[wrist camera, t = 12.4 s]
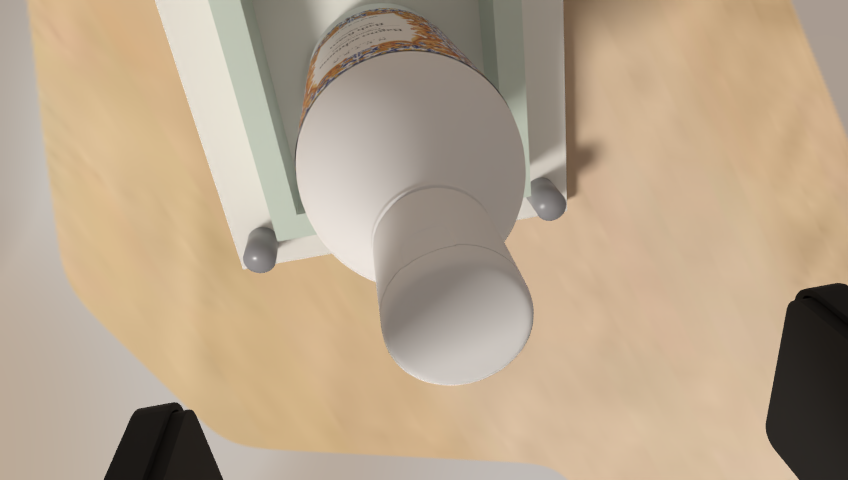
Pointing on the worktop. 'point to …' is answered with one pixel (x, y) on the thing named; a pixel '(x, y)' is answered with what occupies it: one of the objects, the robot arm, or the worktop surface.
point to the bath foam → (417, 189)
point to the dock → (285, 85)
